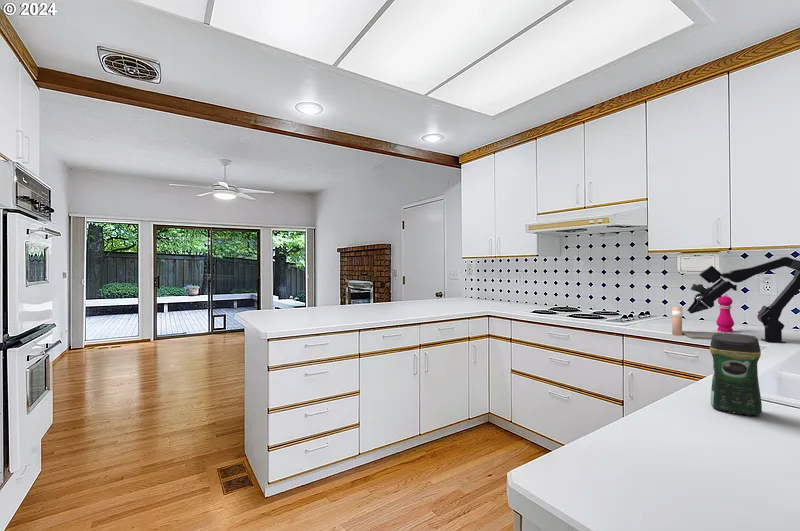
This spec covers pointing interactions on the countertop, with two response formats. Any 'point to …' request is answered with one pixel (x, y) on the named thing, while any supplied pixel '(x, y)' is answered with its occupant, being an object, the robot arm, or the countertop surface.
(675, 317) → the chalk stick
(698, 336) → the slate board
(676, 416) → the countertop surface
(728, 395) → the coffee jar
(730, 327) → the pepper mill
